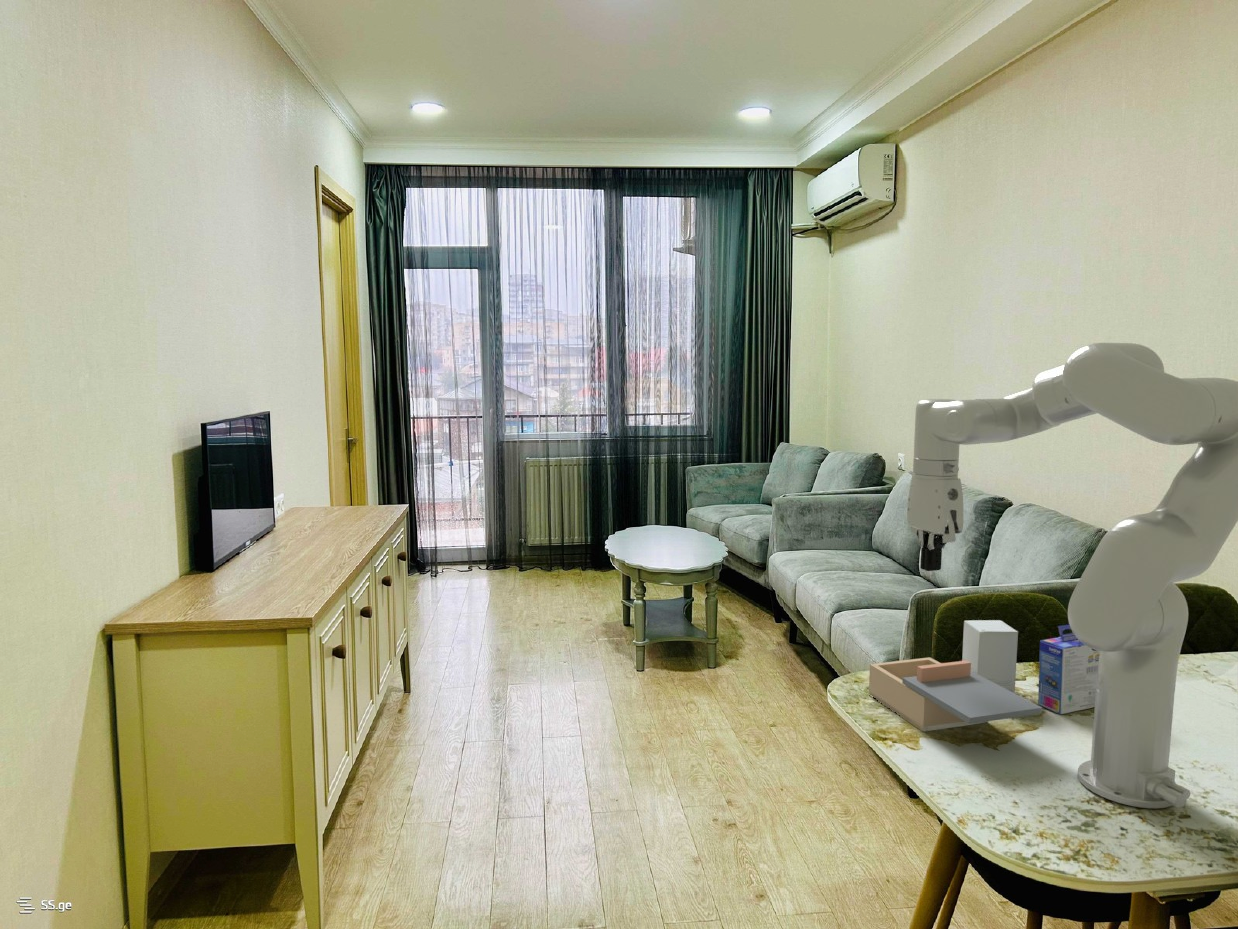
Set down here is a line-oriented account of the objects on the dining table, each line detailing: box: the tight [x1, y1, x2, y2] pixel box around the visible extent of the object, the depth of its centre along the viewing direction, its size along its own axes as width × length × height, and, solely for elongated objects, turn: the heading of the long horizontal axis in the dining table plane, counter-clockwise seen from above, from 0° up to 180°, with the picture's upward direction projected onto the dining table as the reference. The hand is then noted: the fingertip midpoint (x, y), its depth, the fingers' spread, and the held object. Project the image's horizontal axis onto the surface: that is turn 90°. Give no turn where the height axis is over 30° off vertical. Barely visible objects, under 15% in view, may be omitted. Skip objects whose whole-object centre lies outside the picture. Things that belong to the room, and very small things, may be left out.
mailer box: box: [868, 656, 988, 732], centre depth 147 cm, size 16×13×6 cm
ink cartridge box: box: [1037, 624, 1101, 715], centre depth 148 cm, size 10×6×14 cm, turn 112°
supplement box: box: [961, 619, 1019, 694], centre depth 155 cm, size 7×7×13 cm
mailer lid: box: [902, 660, 1043, 725], centre depth 137 cm, size 17×14×3 cm
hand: (930, 569), depth 149 cm, fingers closed
